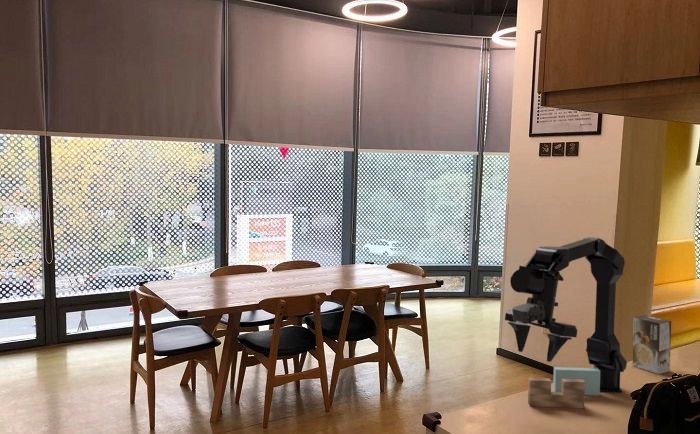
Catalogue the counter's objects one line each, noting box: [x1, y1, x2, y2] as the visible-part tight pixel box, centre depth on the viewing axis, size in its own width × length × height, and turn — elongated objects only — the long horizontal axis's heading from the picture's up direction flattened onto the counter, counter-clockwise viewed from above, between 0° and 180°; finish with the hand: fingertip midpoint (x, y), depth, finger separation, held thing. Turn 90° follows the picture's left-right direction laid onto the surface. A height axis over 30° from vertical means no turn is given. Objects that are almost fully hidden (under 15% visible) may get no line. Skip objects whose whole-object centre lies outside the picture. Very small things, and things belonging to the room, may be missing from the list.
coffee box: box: [632, 314, 672, 375], centre depth 171 cm, size 9×6×16 cm
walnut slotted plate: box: [527, 377, 586, 409], centre depth 143 cm, size 14×2×7 cm, turn 84°
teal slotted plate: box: [552, 366, 601, 396], centre depth 152 cm, size 12×2×7 cm, turn 84°
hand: (534, 356), depth 138 cm, fingers open, 9 cm apart
